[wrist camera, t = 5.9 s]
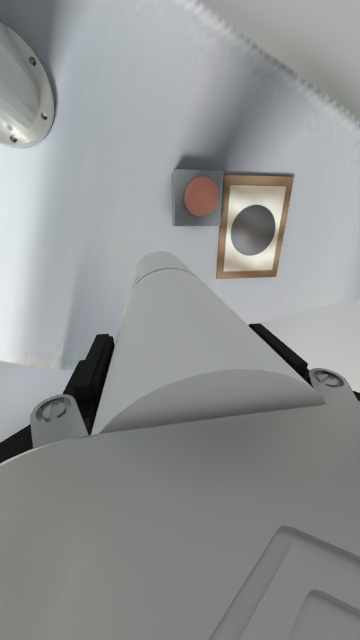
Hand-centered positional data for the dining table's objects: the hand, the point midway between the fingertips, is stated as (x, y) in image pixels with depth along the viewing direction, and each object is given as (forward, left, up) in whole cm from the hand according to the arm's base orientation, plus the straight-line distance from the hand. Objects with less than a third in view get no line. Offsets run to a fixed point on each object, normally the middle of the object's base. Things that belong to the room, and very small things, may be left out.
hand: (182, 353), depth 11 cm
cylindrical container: (0, 0, -19) cm, 19 cm away
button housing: (-11, +7, -32) cm, 35 cm away
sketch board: (-6, +19, -32) cm, 38 cm away
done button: (-11, +7, -30) cm, 33 cm away
